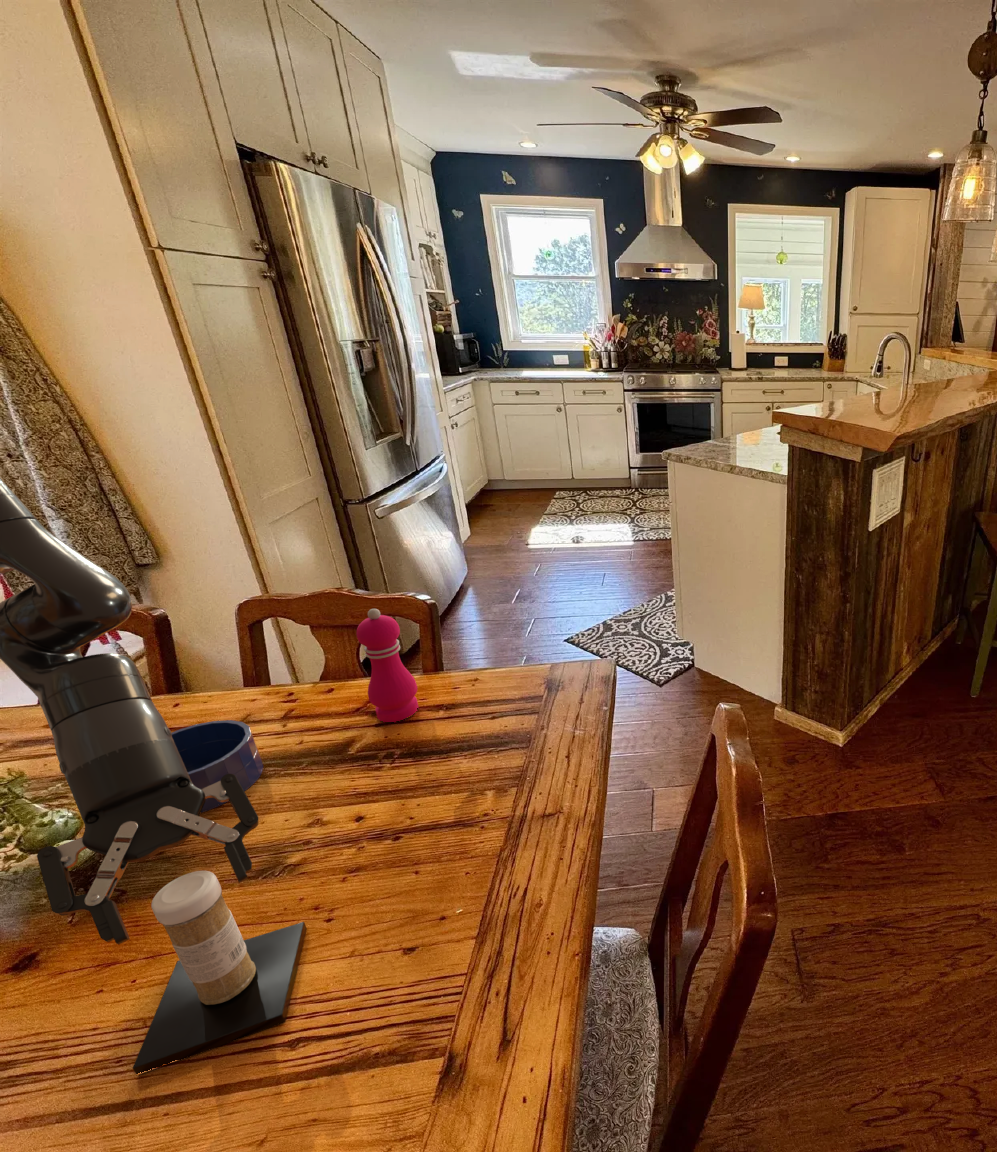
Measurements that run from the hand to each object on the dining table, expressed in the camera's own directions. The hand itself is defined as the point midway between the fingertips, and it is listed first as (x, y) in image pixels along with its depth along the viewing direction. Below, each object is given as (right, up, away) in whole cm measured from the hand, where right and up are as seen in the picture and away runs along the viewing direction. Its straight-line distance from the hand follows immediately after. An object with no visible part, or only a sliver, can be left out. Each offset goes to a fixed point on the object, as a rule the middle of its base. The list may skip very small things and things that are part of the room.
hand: (186, 909), depth 57 cm
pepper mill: (-10, +7, +49) cm, 50 cm away
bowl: (-27, +1, +32) cm, 42 cm away
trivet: (0, -11, +5) cm, 12 cm away
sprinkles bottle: (0, -10, +4) cm, 11 cm away
